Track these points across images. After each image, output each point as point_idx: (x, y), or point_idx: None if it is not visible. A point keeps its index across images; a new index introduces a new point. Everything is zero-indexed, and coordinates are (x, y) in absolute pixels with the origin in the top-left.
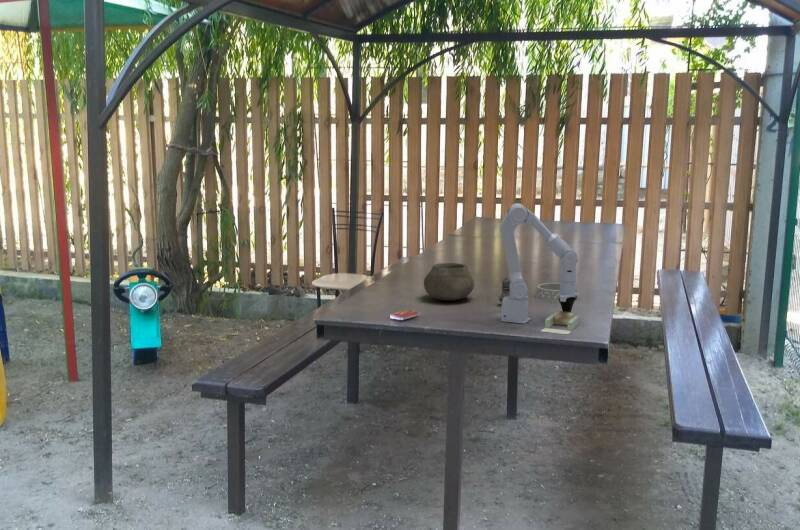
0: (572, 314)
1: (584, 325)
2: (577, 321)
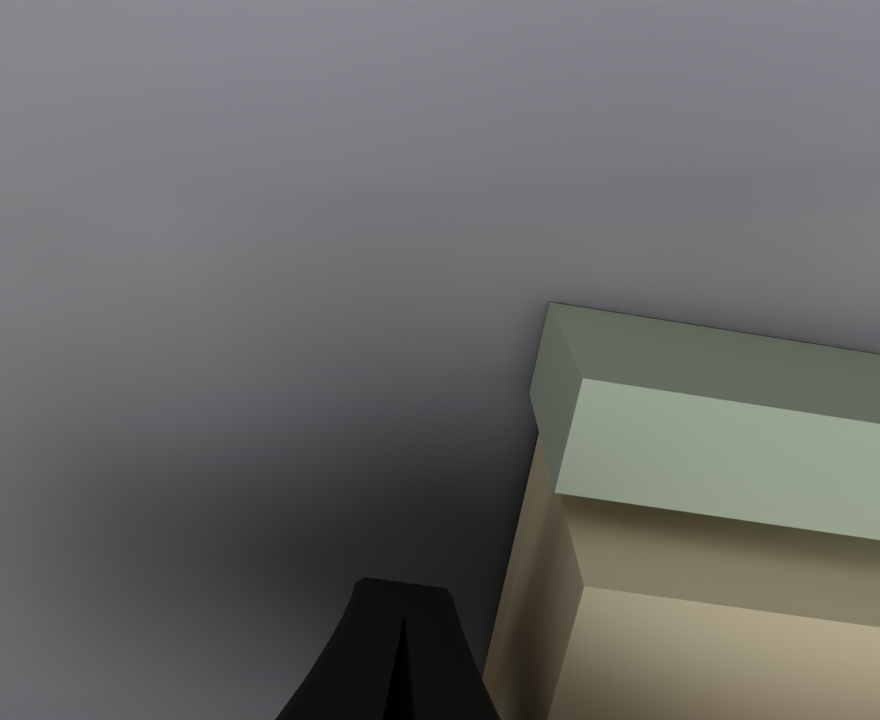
0: (756, 592)
1: (680, 147)
2: (708, 354)
